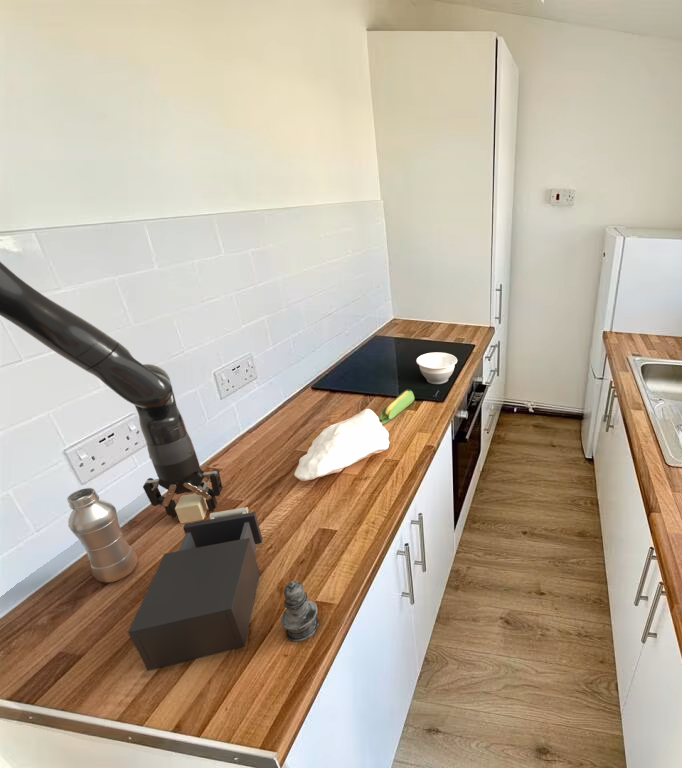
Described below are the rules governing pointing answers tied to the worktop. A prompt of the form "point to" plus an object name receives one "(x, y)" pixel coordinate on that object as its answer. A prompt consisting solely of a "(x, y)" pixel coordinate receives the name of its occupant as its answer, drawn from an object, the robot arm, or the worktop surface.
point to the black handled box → (197, 604)
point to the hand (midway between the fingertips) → (194, 512)
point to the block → (191, 508)
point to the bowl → (437, 366)
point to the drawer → (222, 529)
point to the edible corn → (397, 406)
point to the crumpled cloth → (343, 446)
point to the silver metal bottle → (100, 536)
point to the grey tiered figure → (298, 613)
